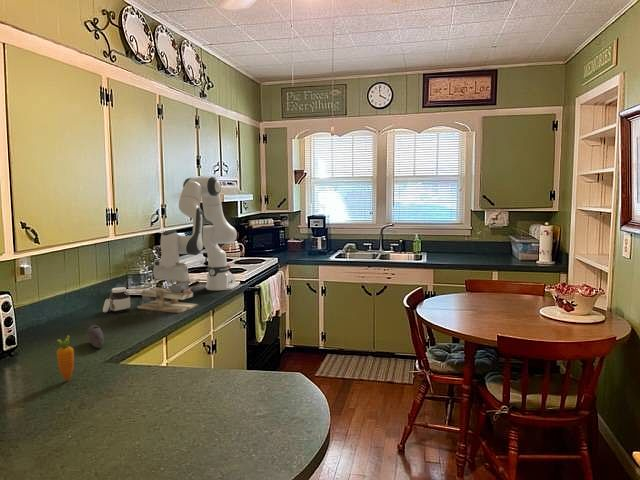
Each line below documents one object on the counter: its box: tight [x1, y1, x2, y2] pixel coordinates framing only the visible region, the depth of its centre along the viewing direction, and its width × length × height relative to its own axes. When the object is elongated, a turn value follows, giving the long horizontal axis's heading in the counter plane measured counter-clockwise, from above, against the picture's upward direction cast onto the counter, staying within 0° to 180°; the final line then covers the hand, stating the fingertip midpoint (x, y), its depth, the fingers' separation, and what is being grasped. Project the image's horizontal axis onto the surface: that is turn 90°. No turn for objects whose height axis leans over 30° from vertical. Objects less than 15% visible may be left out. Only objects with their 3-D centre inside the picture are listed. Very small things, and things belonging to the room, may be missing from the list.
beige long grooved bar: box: [141, 287, 194, 302], centre depth 251 cm, size 8×27×6 cm, turn 67°
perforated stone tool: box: [86, 324, 105, 349], centre depth 192 cm, size 15×5×7 cm, turn 34°
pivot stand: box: [136, 289, 199, 314], centre depth 251 cm, size 15×27×10 cm, turn 67°
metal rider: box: [171, 284, 186, 293], centre depth 247 cm, size 4×6×4 cm, turn 67°
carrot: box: [56, 335, 75, 382], centre depth 156 cm, size 5×5×15 cm
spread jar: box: [102, 286, 131, 314], centre depth 244 cm, size 12×11×12 cm
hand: (171, 288), depth 249 cm, fingers closed
